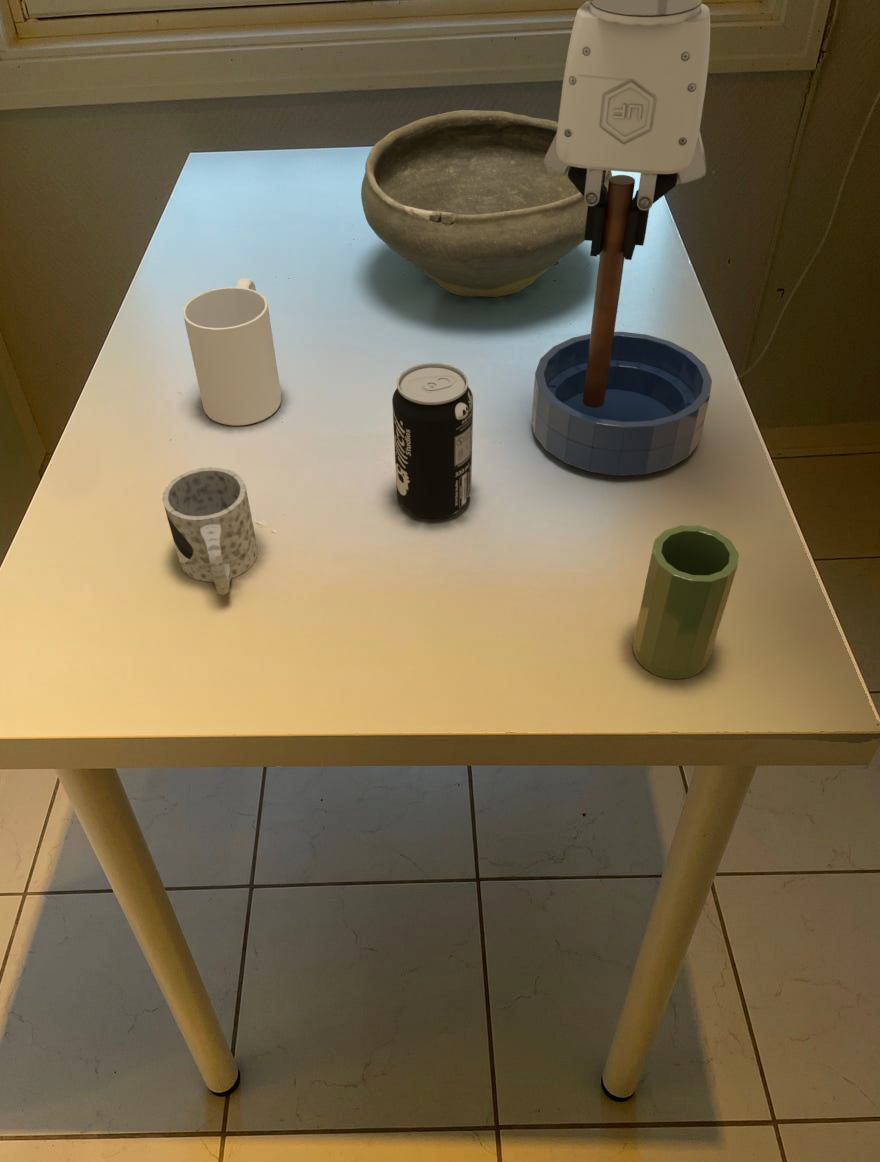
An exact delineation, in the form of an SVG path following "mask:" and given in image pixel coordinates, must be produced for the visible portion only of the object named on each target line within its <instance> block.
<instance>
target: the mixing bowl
mask: <svg viewBox="0 0 880 1162" xmlns="http://www.w3.org/2000/svg"><path fill="white" fill-rule="evenodd" d="M590 335H591V333H586V334H582V335H578V336H573V337H571V338H569V339H567V340H564V341H562V342H560V343H558V344H556V345H554V346H552V347H551V348H550V349H549V350H548V351H547V352H546V353H544V355H543V356H542V357H540V359H539V362H538V365H537V367H536V370H535V372H534V383H533V384H534V385H533V397H532V398H533V399H532V411H531V424H532V430H533V435H534V437H535V438H536V440H537V441H538V443H540V444H541V446H542V447H543V448H544V450H545V451H547V452H548V453H550V454H551V455H553V456H554V457H556V458H558V459H559V460H560V461H561V462H563V463H565V464H567V465H569V466H573V467H575V468H578V469H580V470H584V471H587V472H590V473H596V474H602V475H608V476H609V475H610V476H619V477H620V476H639V475H640V476H641V475H648V474H652V473H656V472H659V471H664V470H667V469H670V468H672V467H673V466H675V465H677V464H679V463H680V462H682V461H684V460H685V459H687V458H689V456H690V455H691V454H692V453H693V452H694V450H695V448H696V447H697V446H698V445H699V443H700V440H701V435H702V432H703V427H704V424H705V423H704V422H705V419H706V415H707V410H708V406H709V401H710V397H711V392H712V385H713V384H712V383H713V380H712V376H711V375H710V373H709V370H708V368H707V365H706V363H704V362H703V361H702V360H701V359H700V358H699V357H698V356H696V355H695V354H694V353H693V351H690V350H688V349H686V348H684V347H682V346H681V345H678V344H676V343H675V342H672V341H670V340H667V339H663V338H660V337H656V336H653V335H649V334H646V333H639V332H638V333H637V332H628V331H614V338H613V345H612V352H611V359H610V367H609V374H608V381H607V388H606V396H605V403H604V405H603V406H601V407H598V408H590V407H587V406H586V405H584V403H583V394H584V386H585V377H586V369H587V361H588V352H589V344H590Z"/></svg>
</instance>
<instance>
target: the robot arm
mask: <svg viewBox="0 0 880 1162" xmlns="http://www.w3.org/2000/svg"><path fill="white" fill-rule="evenodd" d="M702 1H703V0H587V1H586V2H584V3H583V4H582V5H581V6H580V7H579V8H578V9H577V11H576V14H575V17H574V22H573V26H572V29H571V30H572V31H571V33H570V38H569V44H568V49H567V54H566V60H565V66H564V74H563V80H562V88H561V94H560V95H561V96H560V102H559V111H558V119H557V120H558V121H557V122H558V129H557V133H556V135H555V137H554V139H553V141H552V143H551V145H550V147H549V149H548V152H547V154H546V156H545V158H544V164H545V165H546V166H547V167H549V168H551V169H552V170H554V171H556V172H558V173H560V174H562V175H565V176H567V177H568V178H569V179H570V181H571V182H572V183H573V184H574V185H575V187H576V188H577V189H578V190H579V192H580V193H581V194H582V195H583V197H584V201H585V203H586V204H587V205H588V209H587V218H586V228H585V238H584V240H585V241H588V242H591V245H590V253H589V254H590V255H589V256H590V257H595V258H596V257H598V256H600V252H601V246H602V238H603V230H604V221H605V213H606V205H607V204H606V200H607V188H606V187H605V178H606V170H610V171H611V172H624V173H636V174H640V177H639V184H638V189H637V190H636V191H635V193H634V196H633V200H632V205H631V206H630V210H629V214H628V221H627V229H626V236H625V243H624V251H623V257H624V260H627V261H628V260H629V261H632V259H633V255H634V252H635V248H636V246H642V247H643V246H644V244H645V239H646V234H647V227H648V222H649V214H650V209H651V208H652V206H653V205H654V204H655V203H656V202H658V201H659V200H660V199H661V198H663V196H665V195H666V194H667V193H669V192H670V191H671V190H673V189H674V188H675V187H676V186H681V185H685V184H689V183H691V182H695V181H697V180H700V179H703V178H704V177H705V175H706V173H707V169H708V168H707V167H708V162H707V161H708V160H707V157H706V152H705V147H704V143H703V139H702V135H701V131H700V130H701V123H702V118H703V111H704V102H705V96H706V89H707V81H708V73H709V72H708V71H709V63H710V62H709V61H710V51H711V49H710V48H711V11H710V10H711V9H710V7H708V5H706V4H704V3H703V2H702Z"/></svg>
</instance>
